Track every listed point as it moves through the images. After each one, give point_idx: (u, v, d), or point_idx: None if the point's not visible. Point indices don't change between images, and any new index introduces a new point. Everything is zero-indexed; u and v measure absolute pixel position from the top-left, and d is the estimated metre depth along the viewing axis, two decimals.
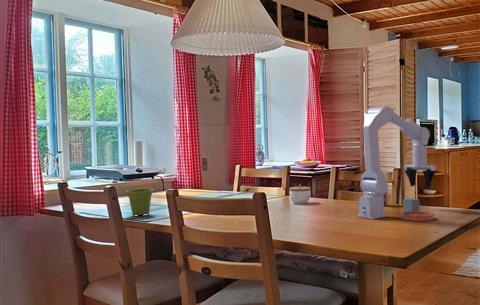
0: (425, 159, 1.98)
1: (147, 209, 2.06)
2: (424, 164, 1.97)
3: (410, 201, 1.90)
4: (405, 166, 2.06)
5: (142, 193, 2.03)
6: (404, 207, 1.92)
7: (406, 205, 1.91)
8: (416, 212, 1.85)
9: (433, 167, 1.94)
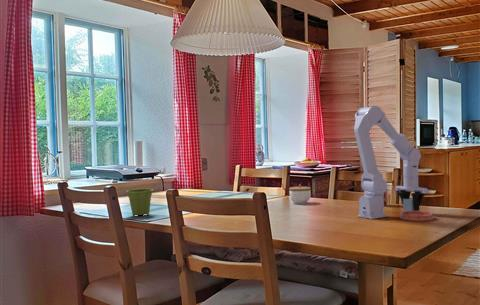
0: (416, 181, 1.90)
1: (147, 209, 2.06)
2: (415, 186, 1.89)
3: (410, 201, 1.90)
4: (396, 187, 1.97)
5: (142, 193, 2.03)
6: (404, 207, 1.92)
7: (406, 205, 1.91)
8: (416, 212, 1.85)
9: (424, 190, 1.85)
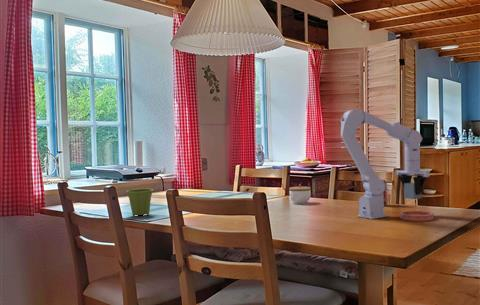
0: (418, 165, 1.85)
1: (147, 209, 2.06)
2: (417, 170, 1.85)
3: (412, 185, 1.85)
4: (397, 172, 1.92)
5: (142, 193, 2.03)
6: (405, 191, 1.88)
7: (408, 190, 1.87)
8: (416, 212, 1.85)
9: (427, 173, 1.81)
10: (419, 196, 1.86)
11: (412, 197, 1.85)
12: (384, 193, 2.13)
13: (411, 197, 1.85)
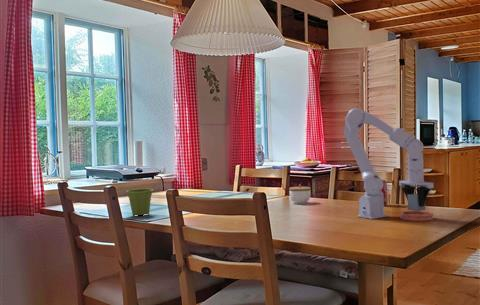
0: (421, 175, 1.78)
1: (147, 209, 2.06)
2: (420, 181, 1.77)
3: (415, 196, 1.78)
4: (400, 182, 1.85)
5: (142, 193, 2.03)
6: (409, 203, 1.81)
7: (411, 201, 1.80)
8: (416, 212, 1.85)
9: (430, 184, 1.74)
10: (423, 208, 1.79)
11: (416, 209, 1.78)
12: (384, 193, 2.13)
13: (414, 209, 1.78)
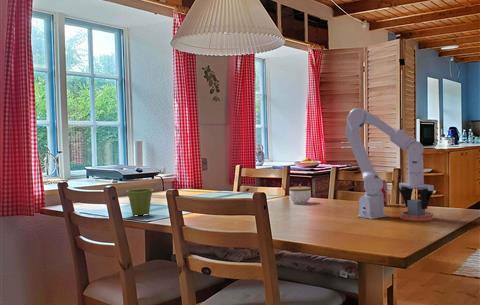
0: (422, 177, 1.78)
1: (147, 209, 2.06)
2: (420, 183, 1.77)
3: (415, 202, 1.78)
4: (400, 184, 1.85)
5: (142, 193, 2.03)
6: (409, 209, 1.81)
7: (411, 207, 1.80)
8: None
9: (430, 187, 1.74)
10: (423, 214, 1.79)
11: None
12: (384, 193, 2.13)
13: None
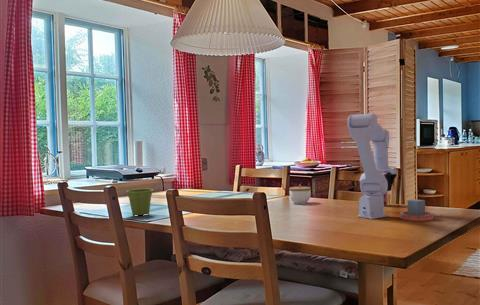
0: (386, 162, 1.94)
1: (147, 209, 2.06)
2: (385, 167, 1.94)
3: (415, 203, 1.78)
4: None
5: (142, 193, 2.03)
6: (408, 209, 1.81)
7: (411, 207, 1.80)
8: None
9: (393, 170, 1.90)
10: (423, 214, 1.79)
11: None
12: None
13: None
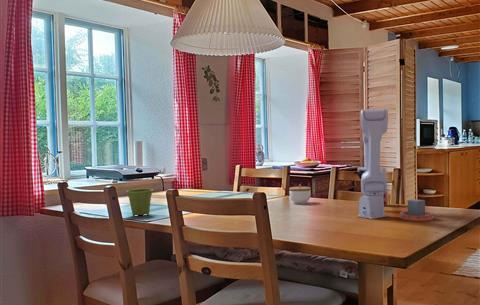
0: None
1: (147, 209, 2.06)
2: None
3: (415, 202, 1.78)
4: (358, 168, 2.07)
5: (142, 193, 2.03)
6: (408, 209, 1.81)
7: (411, 207, 1.80)
8: None
9: (383, 170, 1.95)
10: (423, 214, 1.79)
11: None
12: (384, 193, 2.13)
13: None
